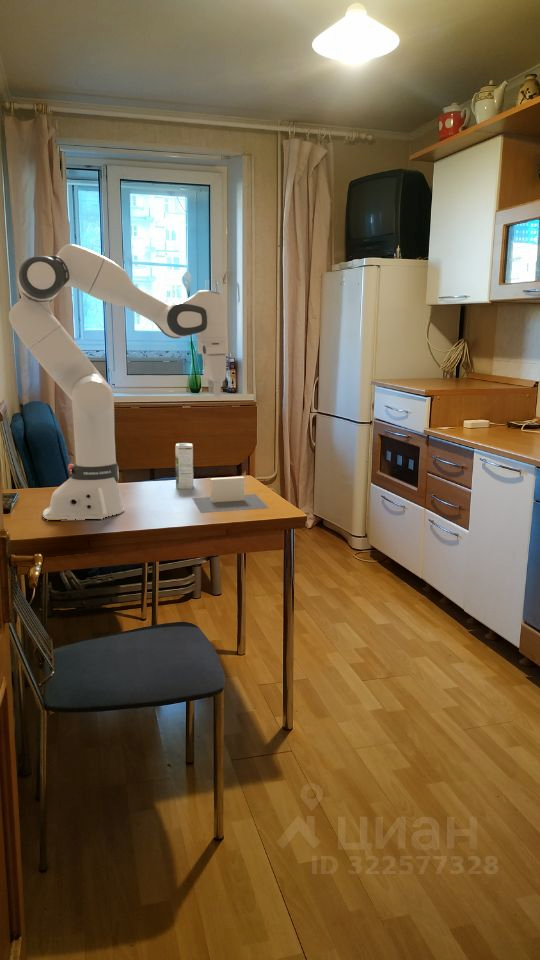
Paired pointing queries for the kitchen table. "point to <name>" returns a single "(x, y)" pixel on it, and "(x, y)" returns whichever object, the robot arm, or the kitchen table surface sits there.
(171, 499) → the kitchen table surface
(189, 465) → the syrup box
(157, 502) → the kitchen table surface
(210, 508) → the mat
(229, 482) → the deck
